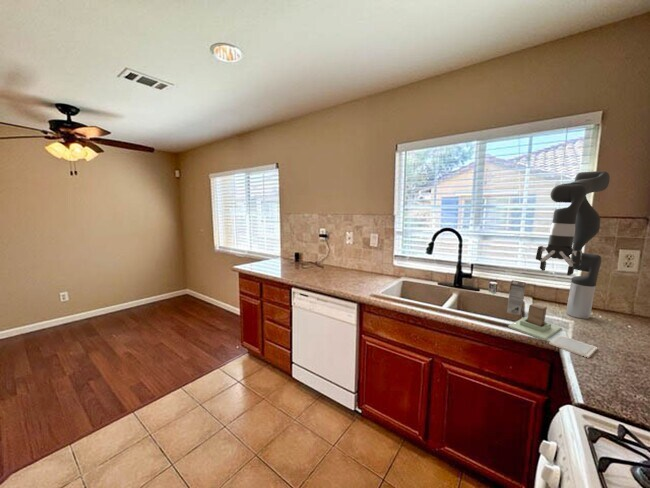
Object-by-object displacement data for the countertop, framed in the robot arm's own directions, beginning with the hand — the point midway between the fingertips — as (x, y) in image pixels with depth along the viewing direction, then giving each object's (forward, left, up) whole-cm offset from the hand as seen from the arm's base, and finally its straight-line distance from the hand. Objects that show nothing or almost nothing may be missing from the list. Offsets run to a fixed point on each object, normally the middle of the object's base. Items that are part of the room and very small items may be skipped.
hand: (555, 272), depth 111 cm
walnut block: (-7, -6, -28) cm, 30 cm away
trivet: (-1, +9, -29) cm, 31 cm away
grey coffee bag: (-21, -20, -30) cm, 41 cm away
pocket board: (-7, -6, -29) cm, 31 cm away
